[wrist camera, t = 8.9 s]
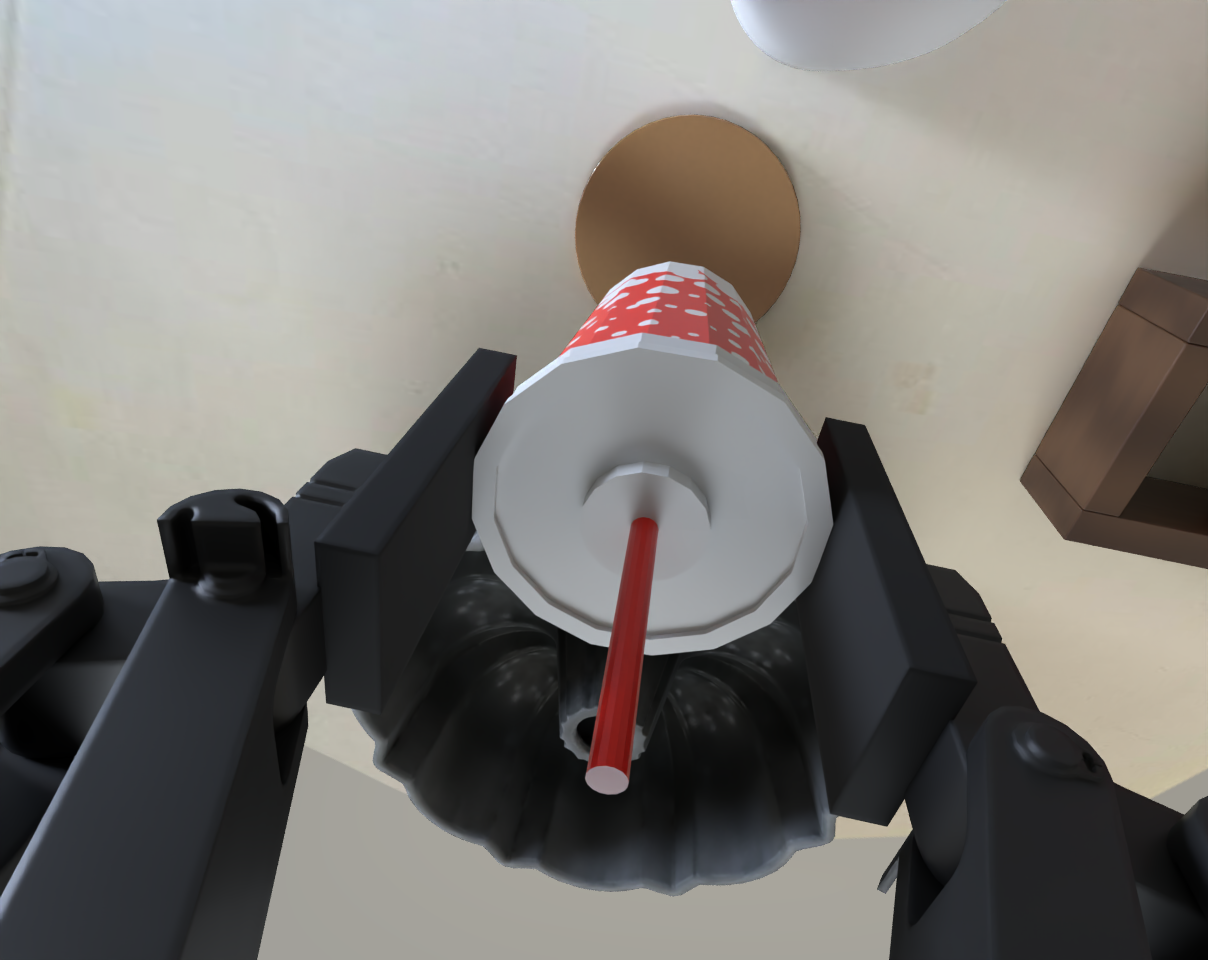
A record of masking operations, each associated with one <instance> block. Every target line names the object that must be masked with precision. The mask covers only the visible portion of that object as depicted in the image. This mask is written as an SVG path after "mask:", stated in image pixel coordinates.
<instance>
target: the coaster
mask: <svg viewBox="0 0 1208 960" xmlns="http://www.w3.org/2000/svg"><path fill="white" fill-rule="evenodd" d="M800 232H801V231H800V213H799V207H798V201H797V197H796V194H795V191H794V187H793V185H792V182H791V180H790V178H789V176H788V174H787V172H786V170H785V168H784V167H783V165H782V164H781V162H780V161H779V159H778V158H777V156H776V155H775V154H774V153H773V152H772V151H771V150H770V148H769V147H768V146H767V145H766V144H765V143H763V142H762V141H761V140H760V139H759V138H758V137H756V136H755V135H754V134H752V133H751V132H749V131H747V130H746V129H744V128H743V127H741V126H739V125H736V124H734V123H732V122H729V121H727V120H723V119H720V118H716V117H712V116H704V115H678V116H673V117H667V118H663V119H660V120H657V121H654V122H651V123H649V124H647V125H645V126H643V127H641V128H639V129H637V130H635V131H633V132H632V133H630V134H629V135H627V136H626V137H625V138H623V139H622V140H620V141H619V142H618V143H617V144H616V145H615V146H614V147H613V148H612V149H611V150H609V152H608V153H607V154H606V155H605V156H604V157H603V159H602V160H601V161H600V162H599V164H598V165H597V167H596V168H595V170H594V171H593V173H592V175H591V176H590V178H589V180H588V182H587V185H586V187H585V189H584V191H583V194H582V197H581V200H580V203H579V207H578V213H577V218H576V228H575V243H576V253H577V258H578V264H579V267H580V270H581V274H582V277H583V279H584V281H585V284H586V286H587V288H588V290H589V292H590V294H591V295H592V297H593V298H594V300H595V302H596V303H597V304H598V305H599V303H600V302H601V301H602V300H603V298H604V297H605V296H606V294H607V293H608V292H609V290H610V289H611V288H613V287H614V286H615V285H617V284H618V283H619V282H621V281H622V280H623V279H625V278H626V277H627V276H629V275H630V274H632V273H633V272H634V271H636V270H637V269H641V268H645V267H649V266H653V265H657V264H661V263H665V262H669V261H671V262H677V263H683V264H689V265H695V266H702V267H705V268H706V269H708V270H709V271H711V272H713V273H714V274H716V275H717V276H719V277H720V278H722V279H724V280H725V281H727V282H728V283H730V284H731V285H732V286H733V287H734V289H735V290H736V292H737V293H738V295H739V296H740V298H741V299H742V301H743V302H744V304H745V305H746V307H747V308H748V310H749V311H750V313H751V315H752V318H753V320H754V323H755V322H756V321H758V320H759V319H760V318H761V317H762V316H763V315H764V314H765V313H766V312H767V311H768V310H769V309H770V308H771V306H772V305H773V304H774V303H775V302H776V300H777V299H778V297H779V296H780V294H781V293H782V291H783V290H784V288H785V286H786V284H787V282H788V280H789V278H790V276H791V273H792V271H793V268H794V265H795V262H796V258H797V254H798V249H799V242H800Z"/></svg>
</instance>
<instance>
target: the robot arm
mask: <svg viewBox="0 0 1208 960" xmlns="http://www.w3.org/2000/svg"><path fill="white" fill-rule="evenodd" d="M516 359H517V355H512V354H507V353H502V352H497V351H492V350H487V349H482V348H479V349H478V350H477V351H476V352H475V353H474V354H473V356H472V357H471V358H470V359H469V360H468V361H467V363H466V364H465V365H464V366H463V367H462V368H461V370H460V371H459V372H458V373H457V374H456V375H455V377H454V378H453V379H452V380H451V381H450V383H449V384H448V385H447V386H446V387H445V388H444V390H443V391H442V392H441V393H440V394H439V395H438V397H437V398H436V399H435V400H434V401H433V402H432V404H431V405H430V406H429V407H428V408H427V409H426V411H425V412H424V413H423V414H422V415H421V416H420V418H419V419H418V420H417V421H416V422H415V424H414V425H413V426H412V427H411V428H410V429H409V431H408V432H407V433H406V434H405V435H404V436H403V438H402V439H401V440H400V441H399V442H398V443H397V445H396V446H395V447H394V448H393V449H392V450H391V452H390V453H389V454H388V455H385V454H380V453H375V452H371V451H366V450H361V449H356V448H355V449H353V450H351V451H349V452H347V453H344V454H342V455H340V456H338V457H336V458H333V459H331V460H329V461H328V462H327V463H326V464H325V465H324V466H323V467H322V468H321V469H320V470H319V471H318V472H317V473H316V474H315V475H314V476H313V477H312V478H311V480H310V482H307V483H306V484H305V485H304V486H303V487H302V488H301V489H300V490H299V491H298V492H297V493H296V497H292V498H291V499H290V500H289V501H288V502H287V503H286V504H285V505H283V504H282V502H281V501H280V500H279V499H277V498H275V497H273V496H270V495H268V494H266V493H263V492H260V491H253V490H245V489H226V490H214V491H210V492H206V493H202V494H198V495H194V496H190V497H188V498H186V499H184V500H182V501H180V502H178V503H176V504H174V505H172V506H170V507H169V508H168V509H167V510H166V511H165V512H164V513H163V514H162V515H161V516H160V517H159V518H158V519H157V523H158V527H159V532H160V536H161V541H162V545H163V550H164V555H165V559H166V564H167V568H168V573H169V577H170V579H169V580H158V581H112V582H98V579H97V576H96V572H95V569H94V565H93V563H92V562H91V561H90V560H89V559H88V558H87V557H86V556H85V555H84V554H83V553H80V552H77V551H74V550H71V549H68V548H65V547H33V548H27V549H20V550H14V551H9V552H6V553H3V554H0V960H257V957H258V953H259V948H260V944H261V939H262V934H263V930H264V925H265V920H266V916H267V912H268V907H269V902H270V898H271V893H272V888H273V884H274V879H275V875H276V870H277V866H278V861H279V857H280V852H281V848H282V843H283V839H284V834H285V829H286V825H287V820H288V816H289V811H290V807H291V802H292V797H293V793H294V788H295V783H296V779H297V775H298V770H299V766H300V761H301V756H302V751H303V747H304V743H305V738H306V734H307V729H308V710H307V701H308V699H309V698H310V696H311V695H312V693H313V691H314V690H315V688H316V687H317V685H318V684H319V682H320V681H321V679H322V677H323V676H324V680H325V694H326V703H328V704H332V705H337V706H342V707H346V708H351V709H355V710H360V711H364V712H369V713H373V714H378V715H381V714H382V712H383V710H384V708H385V706H386V704H387V702H388V700H389V698H390V696H391V694H392V693H393V691H394V689H395V687H396V685H397V683H398V681H399V679H400V677H401V675H402V673H403V671H404V669H405V667H406V665H407V664H408V662H409V660H410V658H411V656H412V654H413V652H414V650H415V648H416V646H417V644H418V642H419V640H420V638H421V636H422V634H423V633H424V631H425V629H426V627H427V625H428V623H429V621H430V619H431V617H432V615H433V613H434V611H435V609H436V607H437V605H438V604H439V602H440V600H441V598H442V596H443V594H444V592H445V590H446V588H447V586H448V584H449V582H450V580H451V578H452V576H453V575H454V573H455V571H456V569H457V567H458V565H459V563H460V561H461V559H462V557H463V555H464V553H465V551H466V549H467V547H468V545H469V544H470V542H471V540H472V538H473V536H474V534H475V532H476V528H475V525H474V523H473V520H472V496H473V470H474V459H475V457H476V455H477V453H478V451H479V449H480V448H481V446H482V444H483V442H484V440H485V438H486V437H487V435H488V433H489V431H490V429H491V427H492V426H493V424H494V422H495V420H496V418H497V416H498V415H499V413H500V411H501V409H502V407H503V405H504V404H505V402H506V401H507V399H508V398H509V397H510V396H512V395H513V390H514V380H515V370H516ZM817 445H818V447H819V448H820V450H821V451H822V453H823V456H824V460H825V465H826V473H827V480H828V488H829V496H830V503H831V511H832V518H833V527H832V530H831V532H830V535H829V538H828V541H827V543H826V546H825V549H824V552H823V554H822V557H821V560H820V562H819V565H818V567H817V570H816V572H815V575H814V577H813V580H812V582H811V584H810V585H809V586H808V587H807V588H806V589H805V590H804V591H803V592H802V593H801V594H800V595H799V596H798V597H797V598H796V605H797V612H798V618H799V624H800V630H801V637H802V643H803V649H804V655H805V662H806V668H807V674H808V680H809V687H810V693H811V699H812V705H813V712H814V718H815V724H816V730H817V737H818V743H819V749H820V755H821V762H822V768H823V774H824V780H825V787H826V793H827V799H828V805H829V812H830V814H832V815H837V816H842V817H846V818H851V819H855V820H860V821H864V822H869V823H873V824H878V825H882V826H888V825H889V823H890V822H891V820H892V818H893V817H894V815H895V814H896V812H897V810H898V809H899V807H900V806H901V804H902V802H903V801H904V799H905V801H906V805H907V809H908V813H909V816H910V820H911V824H912V828H913V830H912V831H911V833H910V834H909V836H908V837H907V839H906V840H905V842H904V844H903V845H902V847H901V848H900V849H899V851H898V852H897V854H896V856H895V857H894V859H893V860H892V862H891V863H890V865H889V866H888V868H887V869H886V871H885V872H884V874H883V875H882V878H881V880H880V883H879V885H878V888H877V890H879V891H881V892H883V893H885V894H886V892H887V891H888V890H889V888H890V887H891V885H892V884H893V882H894V881H895V879H896V878H897V883H896V893H895V905H894V914H893V926H892V936H891V946H890V957H889V960H1208V796H1207V797H1205V798H1202V799H1200V800H1199V801H1198V802H1197V803H1196V804H1195V805H1194V806H1193V807H1192V808H1191V809H1190V810H1189V811H1188V812H1187V813H1186V814H1185V815H1184V814H1181V813H1179V812H1177V811H1175V810H1173V809H1170V808H1168V807H1166V806H1164V805H1162V804H1159V803H1157V802H1155V801H1152V800H1150V799H1148V798H1146V797H1144V796H1142V795H1139V794H1137V793H1135V792H1133V791H1131V790H1128V789H1126V788H1124V787H1122V786H1120V785H1118V784H1116V783H1114V782H1113V780H1112V778H1111V775H1110V773H1109V771H1108V769H1107V767H1106V764H1105V762H1104V761H1103V759H1102V758H1101V757H1100V756H1099V755H1098V754H1097V752H1096V751H1095V750H1094V749H1093V748H1092V747H1091V745H1090V744H1089V743H1088V742H1087V741H1086V740H1084V739H1083V738H1082V737H1081V736H1079V735H1078V734H1077V733H1076V732H1074V731H1073V730H1072V729H1070V728H1069V727H1068V726H1067V725H1065V724H1063V723H1061V722H1059V721H1057V720H1056V719H1054V718H1052V717H1050V716H1048V715H1046V714H1044V713H1042V712H1040V711H1039V709H1038V707H1037V705H1036V703H1035V701H1034V699H1033V697H1032V695H1031V693H1030V691H1029V690H1028V688H1027V686H1026V684H1025V682H1024V680H1023V678H1022V676H1021V674H1020V672H1019V670H1018V668H1017V666H1016V664H1015V662H1014V661H1013V659H1012V657H1011V655H1010V653H1009V651H1008V649H1007V647H1006V645H1005V644H1003V643H1001V641H1002V637H1001V635H1000V633H999V631H998V630H997V628H996V626H995V624H994V623H991V619H992V618H991V616H990V614H989V612H988V610H987V608H986V606H985V604H984V602H983V600H982V599H981V597H980V595H979V593H978V592H977V591H976V590H975V589H974V588H973V587H972V586H971V585H970V584H969V583H968V582H967V581H966V580H965V579H964V578H963V577H962V576H961V575H960V574H959V573H958V572H957V571H956V570H952V569H948V568H943V567H938V566H933V565H928V564H926V563H925V560H924V558H923V556H922V554H921V551H920V549H919V547H918V545H917V542H916V540H915V538H914V535H913V533H912V531H911V529H910V526H909V524H908V522H907V519H906V517H905V515H904V513H903V510H902V508H901V506H900V504H899V501H898V499H897V497H896V494H895V492H894V490H893V488H892V485H891V483H890V481H889V478H888V476H887V474H886V472H885V469H884V467H883V465H882V463H881V460H880V458H879V456H878V453H877V451H876V449H875V447H874V444H873V442H872V440H871V438H870V435H869V433H868V431H867V428H866V426H865V425H862V424H857V423H852V422H847V421H842V420H837V419H832V418H827V417H826V419H825V421H824V424H823V427H822V430H821V432H820V435H819V438H818V441H817Z"/></svg>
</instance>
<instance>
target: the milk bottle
mask: <svg viewBox="0 0 1208 960" xmlns="http://www.w3.org/2000/svg"><path fill="white" fill-rule="evenodd" d="M1006 1H1007V0H731V3H732V6H733V9H734V11H735V14H736V16H737V18H738V20H739V22H740V24H741V26H742V28H743V29H744V31H745V32H746V34H747V35H748V36H749V38H750V39H751V40H752V41H753V43H754V44H755V45H756V46H758V47H759V48H760V49H761V50H762V51H763V52H764V53H766V54H767V55H768V56H770V57H771V58H773V59H775V60H776V61H778V62H781V63H783V64H785V65H788V66H791V67H794V68H797V69H802V70H807V71H842V70H856V69H866V68H874V67H881V66H886V65H890V64H894V63H898V62H902V61H905V60H909V59H912V58H915V57H918V56H921V55H924V54H927V53H929V52H931V51H933V50H936V49H938V48H940V47H942V46H944V45H946V44H948V43H949V42H951V41H953V40H955V39H956V38H958V37H960V36H961V35H963V34H964V33H966V32H967V31H969V30H970V29H972V28H973V27H975V26H976V25H977V24H979V23H980V22H982V21H983V20H985V19H986V18H987V17H988V16H989V15H991V14H992V13H993V12H994V11H996V10H997V9H998V8H999V7H1000V6H1001V5H1002V4H1003V3H1004V2H1006Z"/></svg>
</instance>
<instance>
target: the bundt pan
mask: <svg viewBox="0 0 1208 960" xmlns="http://www.w3.org/2000/svg"><path fill="white" fill-rule="evenodd" d="M608 649H609V647H604V646H599V645H594V644H590V643H588V642H586V641H584V640H582V639H580V638H578V637H576V636H574V635H573V634H571V633H569V632H567V631H565V630H563V629H561V628H559V627H557V626H555V625H553V624H552V623H550V622H548V621H546V620H544V619H542V618H540V617H538V616H536V615H535V614H534V613H533V612H532V611H531V610H530V609H529V608H528V607H527V606H526V605H525V604H524V603H523V601H522V600H521V599H520V598H519V597H518V596H517V595H516V594H515V593H514V592H513V591H512V590H511V589H510V588H509V587H508V586H507V585H506V584H505V583H504V582H503V581H502V580H501V579H500V578H499V577H498V576H497V575H496V574H495V573H494V570H493V568H492V566H491V563H490V561H489V559H488V556H487V554H486V551H485V549H484V547H483V544H482V542H481V539H480V537H479V535H478V532H477V530H476V532H475V534H474V536H473V538H472V540H471V542H470V544H469V545H468V547H467V549H466V551H465V553H464V555H463V557H462V559H461V561H460V563H459V565H458V567H457V569H456V571H455V573H454V575H453V576H452V578H451V580H450V582H449V584H448V586H447V588H446V590H445V592H444V594H443V596H442V598H441V600H440V602H439V604H438V605H437V607H436V609H435V611H434V613H433V615H432V617H431V619H430V621H429V623H428V625H427V627H426V629H425V631H424V633H423V634H422V636H421V638H420V640H419V642H418V644H417V646H416V648H415V650H414V652H413V654H412V656H411V658H410V660H409V662H408V664H407V665H406V667H405V669H404V671H403V673H402V675H401V677H400V679H399V681H398V683H397V685H396V687H395V689H394V691H393V693H392V694H391V696H390V698H389V700H388V702H387V704H386V706H385V708H384V710H383V712H382V714H381V715H378V714H373V713H369V712H364V711H360V710H355V709H352V711H353V713H354V715H355V717H356V719H357V720H358V722H359V723H360V725H361V726H362V727H363V729H364V730H365V731H366V733H367V734H368V735H369V736H370V737H371V738H372V739H373V740H374V741H375V750H374V755H373V763H374V765H375V766H376V768H377V769H379V770H380V771H382V772H384V773H385V774H387V775H389V776H391V777H392V778H394V779H396V780H398V781H399V782H401V783H402V784H403V785H404V787H405V789H406V791H407V794H408V796H409V798H410V800H411V801H412V803H413V804H414V805H415V807H416V808H417V809H418V810H419V811H420V812H421V813H422V814H423V815H424V816H425V817H426V818H427V819H428V820H430V821H431V822H432V823H434V824H435V825H437V826H438V827H439V828H441V829H442V830H444V831H446V832H448V833H449V834H451V835H453V836H455V837H458V838H460V839H462V840H465V841H468V842H471V843H474V844H478V845H481V846H483V847H484V848H485V849H486V850H488V852H490V854H491V855H492V856H493V857H494V858H495V859H496V860H497V862H498V863H500V864H502V865H503V866H505V867H511V868H530V869H537V870H539V871H541V872H542V873H544V874H546V875H548V876H550V877H552V878H554V879H556V880H558V881H561V882H564V883H567V884H570V885H573V886H576V887H579V888H584V889H589V890H597V891H610V892H612V891H627V890H633V889H639V888H646V889H650V890H652V891H656V892H658V893H662V894H666V895H670V896H678V895H682V894H684V893H686V892H687V891H689V890H691V889H693V888H694V887H696V886H698V885H731V884H740V883H745V882H749V881H753V880H756V879H760V878H763V877H765V876H767V875H769V874H771V873H773V872H775V871H777V870H778V869H779V868H781V867H782V866H783V865H785V864H786V863H787V862H788V861H789V859H790V858H791V857H792V855H794V853H795V852H796V851H799V850H802V849H807V848H812V847H817V846H822V845H825V844H827V843H830V842H831V841H832V840H833V839H834V837H835V822H836V818H837V817H838V816H837V815H832V814H830V812H829V805H828V799H827V793H826V787H825V780H824V774H823V768H822V762H821V755H820V749H819V743H818V737H817V730H816V724H815V718H814V712H813V705H812V699H811V693H810V687H809V680H808V674H807V668H806V662H805V655H804V649H803V643H802V637H801V630H800V624H799V618H798V612H797V605H796V599H795V600H794V601H793V602H792V603H791V604H790V605H789V606H788V607H787V608H786V609H785V610H784V611H783V612H782V613H781V614H780V615H779V616H778V617H777V618H776V619H775V620H774V621H773V622H772V623H771V624H769V625H767V626H765V627H762V628H760V629H758V630H756V631H754V632H751V633H749V634H747V635H745V636H742V637H740V638H738V639H736V640H733V641H731V642H729V643H727V644H724V645H722V646H720V647H718V648H715V649H711V650H701V651H691V652H681V653H672V654H662V655H652V656H651V655H646V654H644V657H643V666H642V674H641V683H640V691H639V700H638V708H637V717H636V725H635V734H634V742H633V751H632V759H631V768H630V776H629V783H628V787H627V788H626V789H625V790H624V791H623V792H621V793H618V794H609V795H608V794H603V793H599V792H597V791H595V790H593V789H592V788H591V787H590V786H589V785H588V784H587V782H586V780H585V777H586V771H587V766H588V760H589V754H590V749H591V743H592V738H593V732H594V727H595V721H596V716H597V710H598V705H599V699H600V694H601V688H602V682H603V677H604V671H605V666H606V660H607V655H608Z"/></svg>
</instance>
